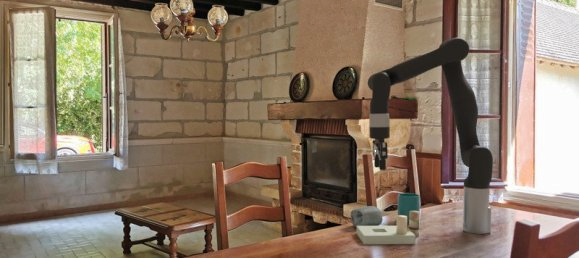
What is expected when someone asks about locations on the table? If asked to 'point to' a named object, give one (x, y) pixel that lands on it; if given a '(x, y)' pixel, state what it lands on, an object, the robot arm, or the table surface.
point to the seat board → (387, 233)
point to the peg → (414, 222)
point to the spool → (366, 216)
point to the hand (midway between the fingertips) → (379, 168)
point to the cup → (408, 204)
